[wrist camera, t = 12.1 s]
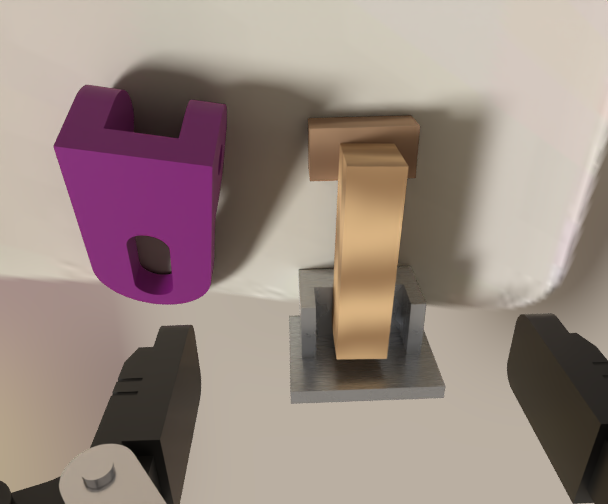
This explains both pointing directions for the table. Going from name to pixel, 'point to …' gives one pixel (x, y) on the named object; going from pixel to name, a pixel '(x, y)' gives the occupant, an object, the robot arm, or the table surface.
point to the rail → (367, 247)
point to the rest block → (358, 140)
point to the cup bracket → (360, 372)
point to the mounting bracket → (144, 192)
